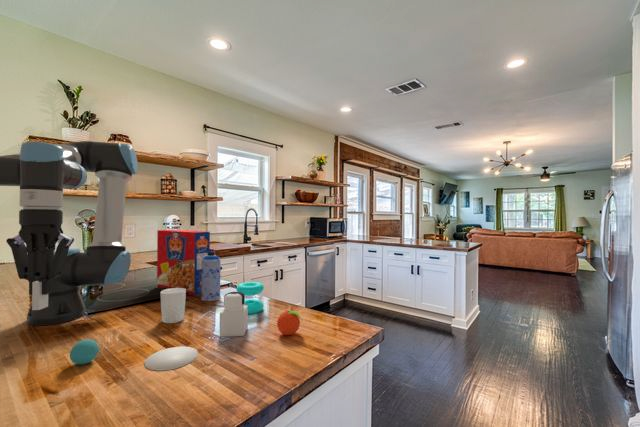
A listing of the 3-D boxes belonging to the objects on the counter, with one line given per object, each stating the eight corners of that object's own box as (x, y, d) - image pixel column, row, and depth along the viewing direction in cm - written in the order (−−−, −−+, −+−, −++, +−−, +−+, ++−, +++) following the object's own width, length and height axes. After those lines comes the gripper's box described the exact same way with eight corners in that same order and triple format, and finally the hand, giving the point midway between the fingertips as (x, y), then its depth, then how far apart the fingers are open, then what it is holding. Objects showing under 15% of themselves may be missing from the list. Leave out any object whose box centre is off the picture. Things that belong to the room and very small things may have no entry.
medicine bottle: (225, 327, 94) (225, 290, 94) (247, 327, 95) (248, 289, 95) (219, 337, 87) (219, 296, 87) (243, 336, 88) (244, 296, 88)
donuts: (268, 282, 114) (253, 288, 105) (268, 308, 114) (253, 316, 105) (247, 280, 118) (230, 285, 108) (247, 305, 118) (230, 312, 108)
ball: (63, 369, 68) (63, 346, 68) (79, 358, 74) (79, 336, 74) (89, 368, 69) (90, 344, 69) (103, 356, 75) (103, 335, 75)
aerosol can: (213, 294, 132) (213, 250, 132) (224, 297, 127) (224, 251, 127) (197, 298, 126) (197, 251, 126) (208, 302, 121) (208, 253, 121)
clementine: (306, 332, 91) (306, 309, 91) (297, 341, 85) (297, 316, 85) (283, 328, 94) (283, 306, 94) (272, 337, 87) (273, 313, 87)
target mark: (135, 372, 68) (135, 371, 68) (156, 348, 79) (156, 347, 79) (190, 368, 69) (190, 368, 69) (203, 346, 81) (203, 345, 81)
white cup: (175, 325, 96) (175, 294, 96) (154, 323, 98) (154, 293, 98) (190, 316, 104) (191, 288, 104) (171, 315, 105) (171, 287, 105)
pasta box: (157, 287, 145) (157, 230, 145) (172, 284, 151) (172, 229, 151) (194, 295, 131) (194, 232, 131) (209, 291, 137) (209, 231, 137)
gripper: (-5, 207, 65) (-7, 314, 65) (60, 208, 67) (59, 312, 67) (24, 208, 73) (22, 304, 73) (82, 209, 75) (81, 302, 74)
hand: (40, 308), depth 70 cm, fingers closed
